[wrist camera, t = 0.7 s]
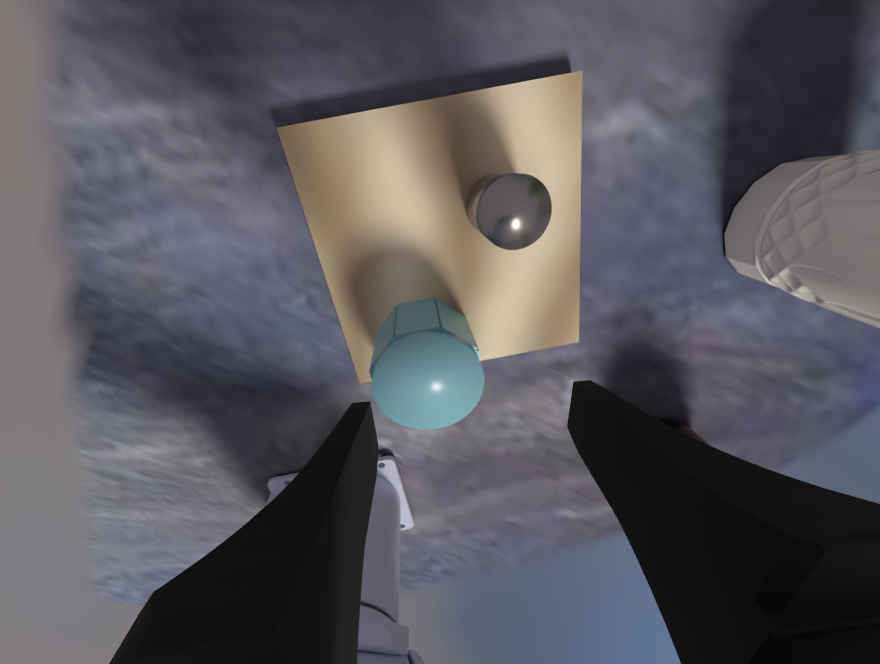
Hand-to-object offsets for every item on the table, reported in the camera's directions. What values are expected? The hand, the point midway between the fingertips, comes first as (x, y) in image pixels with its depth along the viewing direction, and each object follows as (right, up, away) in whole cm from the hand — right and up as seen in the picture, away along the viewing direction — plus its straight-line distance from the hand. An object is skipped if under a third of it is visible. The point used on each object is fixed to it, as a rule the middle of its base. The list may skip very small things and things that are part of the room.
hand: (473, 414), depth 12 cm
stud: (+2, +9, +5) cm, 11 cm away
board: (-1, +8, +7) cm, 10 cm away
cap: (-2, +2, +8) cm, 9 cm away
